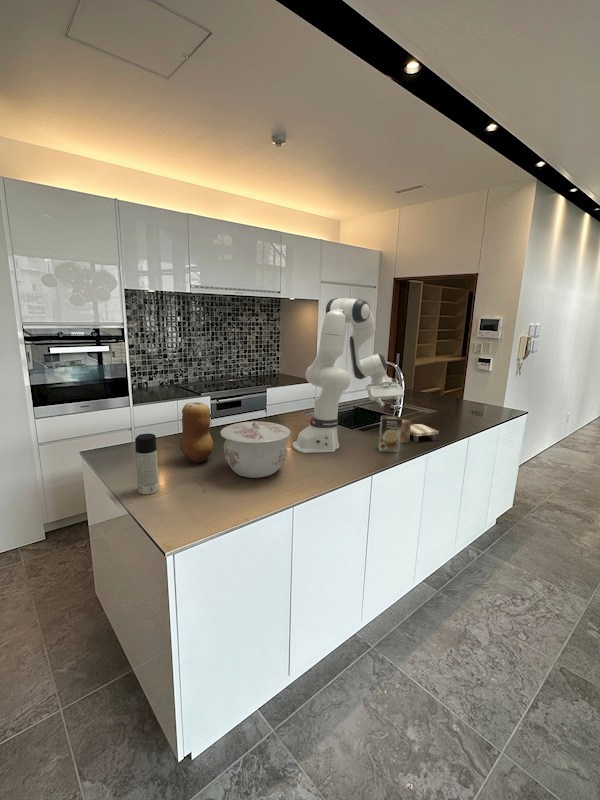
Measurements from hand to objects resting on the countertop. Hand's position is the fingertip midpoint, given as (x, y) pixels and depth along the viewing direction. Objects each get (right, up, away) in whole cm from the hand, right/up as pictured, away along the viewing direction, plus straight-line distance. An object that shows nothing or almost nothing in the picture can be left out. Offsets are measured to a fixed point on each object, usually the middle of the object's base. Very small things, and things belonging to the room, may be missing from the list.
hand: (390, 405), depth 204 cm
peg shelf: (+14, -17, -1) cm, 22 cm away
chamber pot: (-66, -26, -50) cm, 86 cm away
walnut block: (+4, -18, -8) cm, 20 cm away
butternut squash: (-92, -23, -41) cm, 103 cm away
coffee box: (-6, -21, -21) cm, 30 cm away
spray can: (-101, -29, -69) cm, 126 cm away
